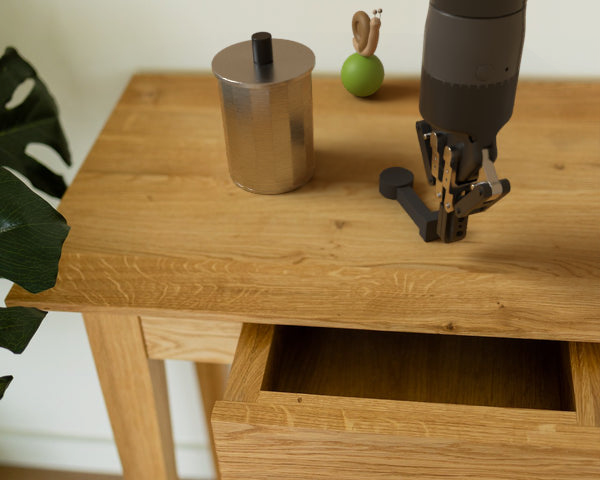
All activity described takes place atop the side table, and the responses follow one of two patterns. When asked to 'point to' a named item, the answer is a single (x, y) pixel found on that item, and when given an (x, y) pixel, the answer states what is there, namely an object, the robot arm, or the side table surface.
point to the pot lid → (263, 62)
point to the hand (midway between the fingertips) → (450, 237)
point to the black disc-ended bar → (409, 200)
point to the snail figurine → (363, 57)
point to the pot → (269, 136)
